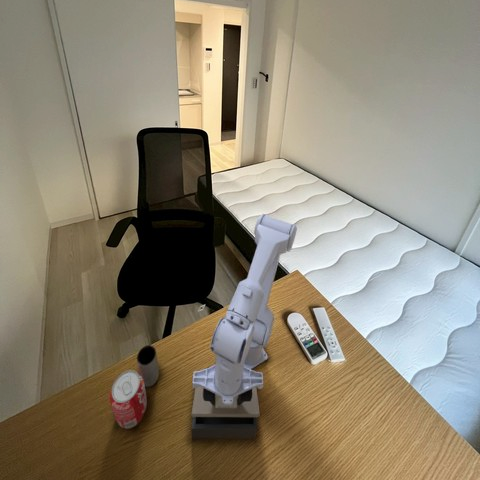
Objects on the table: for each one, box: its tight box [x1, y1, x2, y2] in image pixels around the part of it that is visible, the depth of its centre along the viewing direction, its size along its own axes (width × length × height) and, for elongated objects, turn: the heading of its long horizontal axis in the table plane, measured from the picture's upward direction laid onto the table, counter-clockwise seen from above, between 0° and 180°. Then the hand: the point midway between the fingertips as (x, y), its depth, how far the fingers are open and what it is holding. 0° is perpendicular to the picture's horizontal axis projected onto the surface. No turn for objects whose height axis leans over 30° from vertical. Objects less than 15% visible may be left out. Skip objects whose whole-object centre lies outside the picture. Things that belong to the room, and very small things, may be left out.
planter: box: [136, 344, 160, 388], centre depth 63 cm, size 4×4×10 cm
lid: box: [191, 386, 261, 418], centre depth 57 cm, size 11×15×4 cm
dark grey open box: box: [190, 417, 258, 440], centre depth 59 cm, size 10×15×5 cm
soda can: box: [109, 369, 148, 430], centre depth 56 cm, size 7×7×12 cm
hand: (226, 399), depth 54 cm, fingers closed on lid, 5 cm apart
